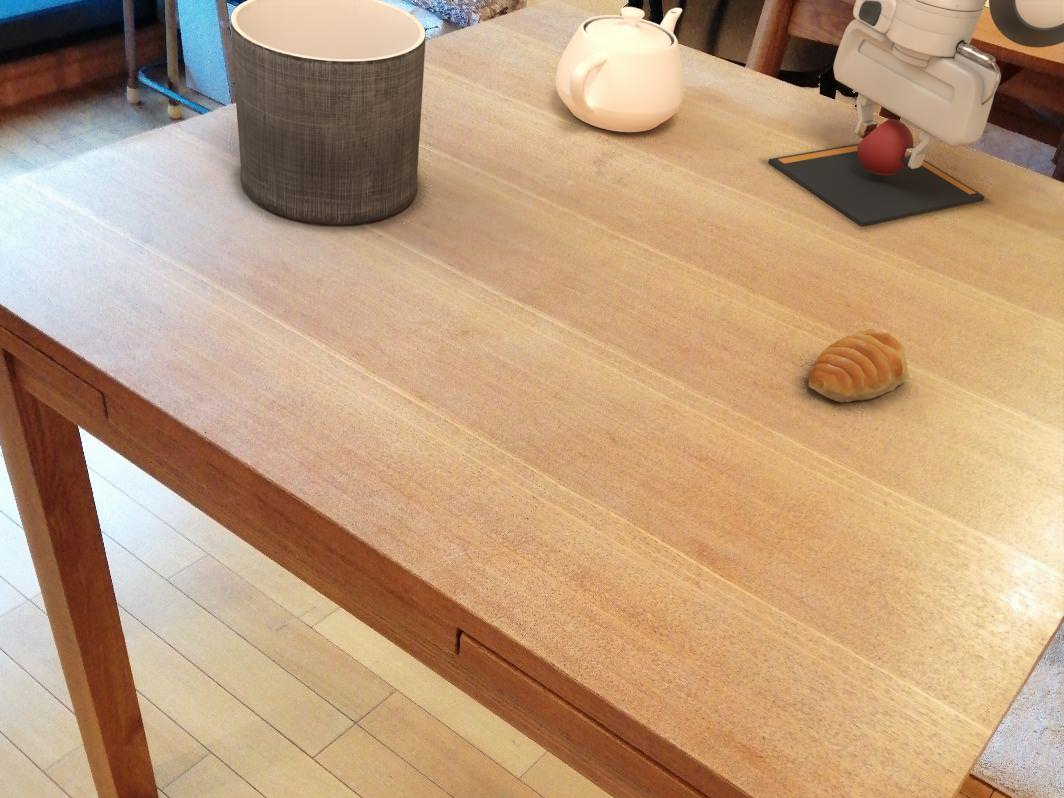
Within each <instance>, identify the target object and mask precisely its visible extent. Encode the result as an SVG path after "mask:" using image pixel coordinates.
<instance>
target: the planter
mask: <svg viewBox="0 0 1064 798" xmlns="http://www.w3.org/2000/svg"><path fill="white" fill-rule="evenodd" d="M229 20H230V34H231V48H232V49H231V51H232V63H233V77H234V91H235V104H236V106H235V107H236V118H237V119H236V120H237V134H238V147H239V149H238V150H239V160H240V167H239V168H240V169H239V170H240V171H239V172H240V183H241V187H242V189H243V190H244V192H245V193H246V195H247V196H248V197H249V198H250V199H251V200H252V201H253V202H255V203H256V204H258V205H259V206H261V207H262V208H265V209H266V210H268V211H270V212H272V213H274V214H277V215H280V216H283V217H286V218H288V219H293V220H296V221H302V222H305V223H306V222H307V223H312V224H313V223H314V224H322V225H355V224H357V225H358V224H365V223H371V222H375V221H379V220H382V219H386V218H389V217H391V216H394V215H396V214H397V213H400V212H401V211H403V210H404V209H406V208H407V207H408V206H409V205H411V203H412V202H413V201H414V199H415V198H416V196H417V194H418V193H417V192H418V166H419V155H420V154H419V152H420V137H421V136H420V135H421V124H422V123H421V122H422V105H423V104H422V103H423V90H424V89H423V87H424V73H425V72H424V71H425V56H426V41H427V31H426V28H425V26H424V24H423V23H422V22H421V21H420V20H419V19H418V18H417V17H416V16H414V15H413V14H411V13H410V12H408V11H406V10H404V9H402V8H401V7H398V6H396V5H393V4H392V3H388V2H385V1H382V0H246V1H243V2H242V3H240V4H238V5H237V6H236V7H235V8H234V9H233V10H232V12H231V14H230V19H229Z"/></svg>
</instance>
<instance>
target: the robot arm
mask: <svg viewBox="0 0 1064 798" xmlns="http://www.w3.org/2000/svg"><path fill="white" fill-rule="evenodd" d="M987 1H988V6H989V14H990V17H991V19H992V21H993V24H994V26H995V27H996V29H997V30H998V31H999V32H1000V33H1001V35H1002V36H1004V37H1005V38H1006V39H1008V40H1009V41H1011V42H1013V43H1015V44H1017V45H1020V46H1022V47H1027V48H1049V47H1052V46H1057V45H1059V44H1062V43H1064V0H856V1H855V2H854V5H853V6H854V7H853V10H852V16H853V18H854V19H853V20H851V21H850V22H849V23H848V24H847V27H846V28H845V30H844V32H843V35H842V37H841V40H840V43H839V46H838V48H837V52H836V55H835V58H834V62H833V75H834V79H835V80H836V81H838V82H839V83H841V84H842V85H845V86H846V87H847V88H849V89H851V90H853V91H854V92H856V93H858V94H857V98H856V101H855V103H856V105H855V106H856V114H857V120H858V121H857V123H856V127H855V129H854V135H856V136H858V137H859V138H861V139H862V140H863V139H864V138H865V137H866V136H867V135H868V134H869V133H871V132H872V131H873V130H874V129H875V128H877V127H878V126H879V125H878V124H879V122H877V121H875V120H874V105H879V106H880V107H882V108H884V109H886V110H887V111H889V112H891V113H892V114H894V115H896V116H898V117H899V118H902V120H905V121H906V122H908V123H910V124H911V125H913V126H915V127H917V128H918V129H920V133H919V136H918V139H919V140H921V141H920V143H918V144H917V145H916V146H913V147H914V148H908V149H906V151H905V154H904V156H905V157H904V158H903V159H902V163H903V164H905V165H906V166H908V167H910V168H911V169H914V168H919V167H920V166H921V165H922V162H923V160H925V158H926V155H927V153H929V152H930V151H931V150H932V149H934V148H935V147H936V146H937V145H938V144H940V143H941V142H942V143H944V144H946V145H947V146H949V147H951V148H960V147H966V146H971V145H973V144H974V143H976V142H977V141H979V140H980V139H981V138H982V136H983V133H984V130H985V128H986V125H987V122H988V119H989V116H990V112H991V109H992V105H993V102H994V97H995V94H996V91H997V89H998V87H999V85H1000V82H1001V78H1002V73H1001V71H1000V67H999V66H998V64H997V63H996V61H997V59H996V58H995V57H994V56H993V55H992V54H989V53H987V52H983V51H981V50H980V49H978V48H977V47H975V46H974V45H971V42H972V39H973V36H974V34H975V32H976V30H977V29H976V28H977V26H978V23H979V22H980V18H981V16H982V13H983V11H984V9H985V6H986V4H987Z"/></svg>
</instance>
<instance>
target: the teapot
mask: <svg viewBox="0 0 1064 798" xmlns="http://www.w3.org/2000/svg"><path fill="white" fill-rule="evenodd" d="M682 13H683V9H682V8H681V7H673V8H671V9H670V10H668V11H667V12H666V14H665V15H664V17H663V19H662V21H661V22H660V24H658V23H656V22H652V21H650V20H647V19H643V18H644V17H645V16H646V14H645V11H644V10H643V9H641V8H637V7H633V6H625V7H622V8H621V9H620V14H621V15H619V14H603V15H596V16H591V17H589V18H586V19H585V20H584V21H582V22H581V24H580V25H579V26H578V28H577V29H576V31H575V32H574V33H573V36H572V37H571V38H570V41H569V42H568V44H567V46H566V48H565V49H564V51H563V53H562V55H561V57H560V60H559V62H558V65H557V68H556V72H555V78H554V79H555V80H554V81H555V82H554V85H555V88H556V91H557V94H558V97H559V98H560V99H561V101H562V102H563V103H564V105H565V107H567V108H568V110H569V111H570V112H571V114H572V115H573V116H575V117H576V118H577V119H579V120H580V121H581V122H584V123H586V124H588V125H591V126H594V127H596V128H599V129H603V130H607V131H613V132H619V133H639V132H646V131H650V130H652V129H655V128H656V127H658V126H659V125H661V124H662V123H664V122H666V121H668V120H669V119H670V118H671V117H673V116H674V115H675V114H676V113H677V112H678V111H679V109H680V108H681V105H682V104H683V101H684V98H685V92H686V91H685V88H686V85H685V83H686V81H685V70H684V63H683V58H682V53H681V50H680V49H681V48H680V45H679V41H678V39H677V38H678V37H676V35H675V33H674V31H675V27H676V23H677V21H678V20H679V18H680V16H681V14H682Z"/></svg>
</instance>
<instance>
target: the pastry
mask: <svg viewBox="0 0 1064 798" xmlns="http://www.w3.org/2000/svg"><path fill="white" fill-rule="evenodd" d="M905 354H906V350H905V348H904V346H903V344H902V343H901V342H900V341H899V340H898V338H896V337H894V336H893V335H892V334H890V333H889V332H886V331H877V330H875V329H873V328H868V329H867V330H860V331H859V332H857V333H856V334H853V335H848V336H845V337H842V338H840V339H838V340H836V341H835V342H834V343H832V344H829V345H828V346H827V347H826V348H825V349H824V350H822V351H821V353H820V355H819V356H818V357H817V359H816V361H815V363H814V365H813V366H812V367H811V368H810V370H809V375H808V387H809V388H810V389H812V390H814V391H815V392H817V393H818V394H820V395H822V396H824V397H826V398H828V399H831V400H832V401H834V402H840V404H842V403H844V402H845V403H851V402H853V401H862V402H863V401H867V400H872V399H874V398H878V397H880V396H883V395H884V394H886V393H890V392H893V391H894V390H895V389H896V388H897V387H898V386H900V385H902V384H903V383H904V382H905V381H906V380H907V379H908V378H909V376H910V372H909V369H908V360H907V358H906V355H905Z"/></svg>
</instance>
